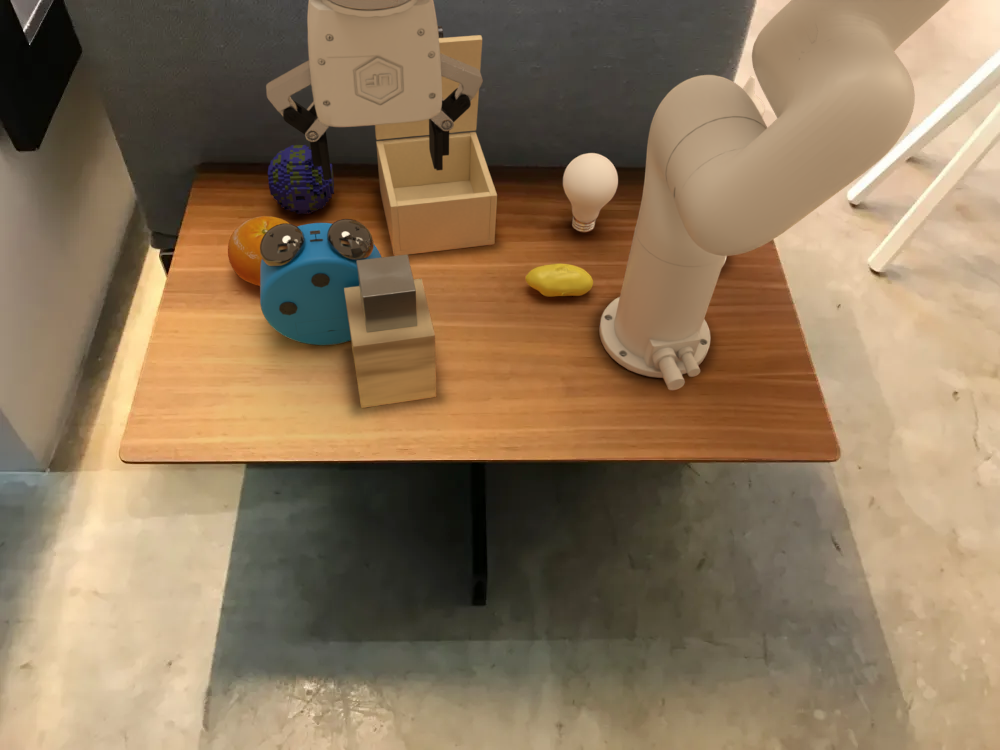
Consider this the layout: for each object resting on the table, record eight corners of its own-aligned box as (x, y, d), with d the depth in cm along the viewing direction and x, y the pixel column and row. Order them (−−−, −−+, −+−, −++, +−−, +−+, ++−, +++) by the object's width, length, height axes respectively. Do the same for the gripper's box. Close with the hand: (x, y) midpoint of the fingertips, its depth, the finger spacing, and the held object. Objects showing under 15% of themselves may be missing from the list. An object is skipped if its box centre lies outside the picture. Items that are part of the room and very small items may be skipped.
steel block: (417, 326, 84) (415, 290, 80) (366, 332, 83) (362, 297, 79) (409, 290, 87) (407, 254, 83) (360, 296, 86) (356, 260, 82)
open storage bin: (494, 244, 107) (497, 195, 100) (393, 256, 104) (390, 206, 98) (474, 180, 114) (475, 131, 108) (380, 190, 112) (376, 140, 106)
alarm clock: (386, 303, 99) (377, 202, 88) (390, 343, 96) (382, 243, 84) (271, 313, 98) (247, 212, 86) (271, 354, 94) (246, 254, 82)
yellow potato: (590, 307, 101) (595, 283, 98) (523, 300, 101) (525, 276, 98) (591, 281, 103) (595, 258, 100) (525, 275, 103) (528, 251, 100)
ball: (276, 183, 112) (267, 134, 106) (335, 181, 113) (329, 132, 107) (273, 224, 107) (263, 175, 101) (335, 222, 108) (328, 173, 102)
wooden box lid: (482, 39, 96) (473, 11, 99) (370, 47, 94) (364, 19, 96) (476, 130, 107) (468, 103, 110) (376, 140, 105) (370, 112, 108)
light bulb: (547, 233, 108) (555, 163, 100) (572, 205, 112) (582, 134, 103) (593, 254, 106) (606, 184, 98) (617, 225, 110) (631, 154, 101)
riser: (436, 397, 91) (435, 335, 83) (361, 408, 90) (352, 346, 82) (423, 341, 96) (421, 278, 88) (352, 351, 95) (343, 287, 87)
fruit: (317, 274, 97) (278, 212, 93) (251, 309, 97) (210, 250, 94) (317, 253, 104) (281, 195, 101) (256, 286, 105) (218, 230, 101)
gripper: (246, 5, 58) (283, 202, 71) (496, -9, 61) (486, 183, 74) (244, -47, 63) (279, 147, 76) (476, -57, 65) (470, 132, 79)
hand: (381, 165), depth 75 cm, fingers open, 9 cm apart
